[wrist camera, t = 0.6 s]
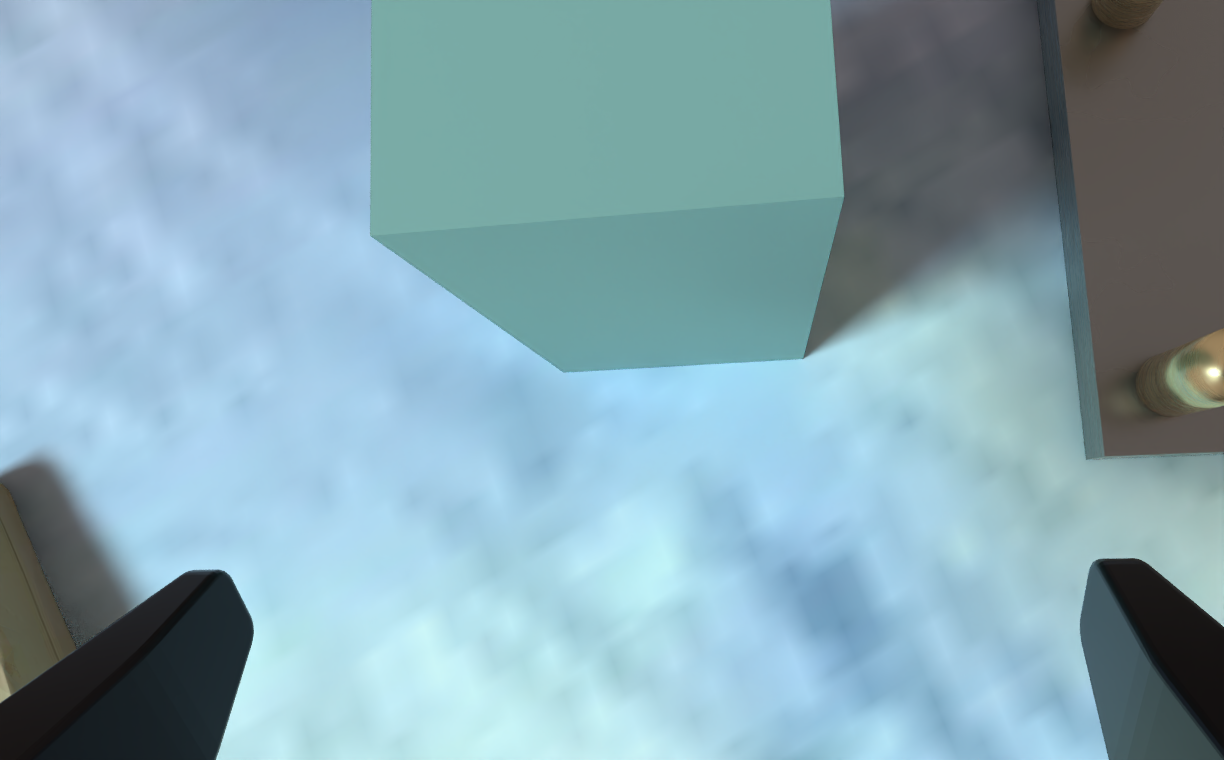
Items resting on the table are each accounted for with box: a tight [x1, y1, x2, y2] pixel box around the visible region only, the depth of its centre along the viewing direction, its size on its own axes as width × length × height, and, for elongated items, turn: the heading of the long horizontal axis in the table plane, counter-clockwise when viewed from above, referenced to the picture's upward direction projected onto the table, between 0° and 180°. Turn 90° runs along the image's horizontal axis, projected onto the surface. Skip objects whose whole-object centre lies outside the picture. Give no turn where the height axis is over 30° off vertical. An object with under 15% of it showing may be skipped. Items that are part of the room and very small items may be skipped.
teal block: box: [370, 0, 844, 372], centre depth 18 cm, size 6×6×12 cm
